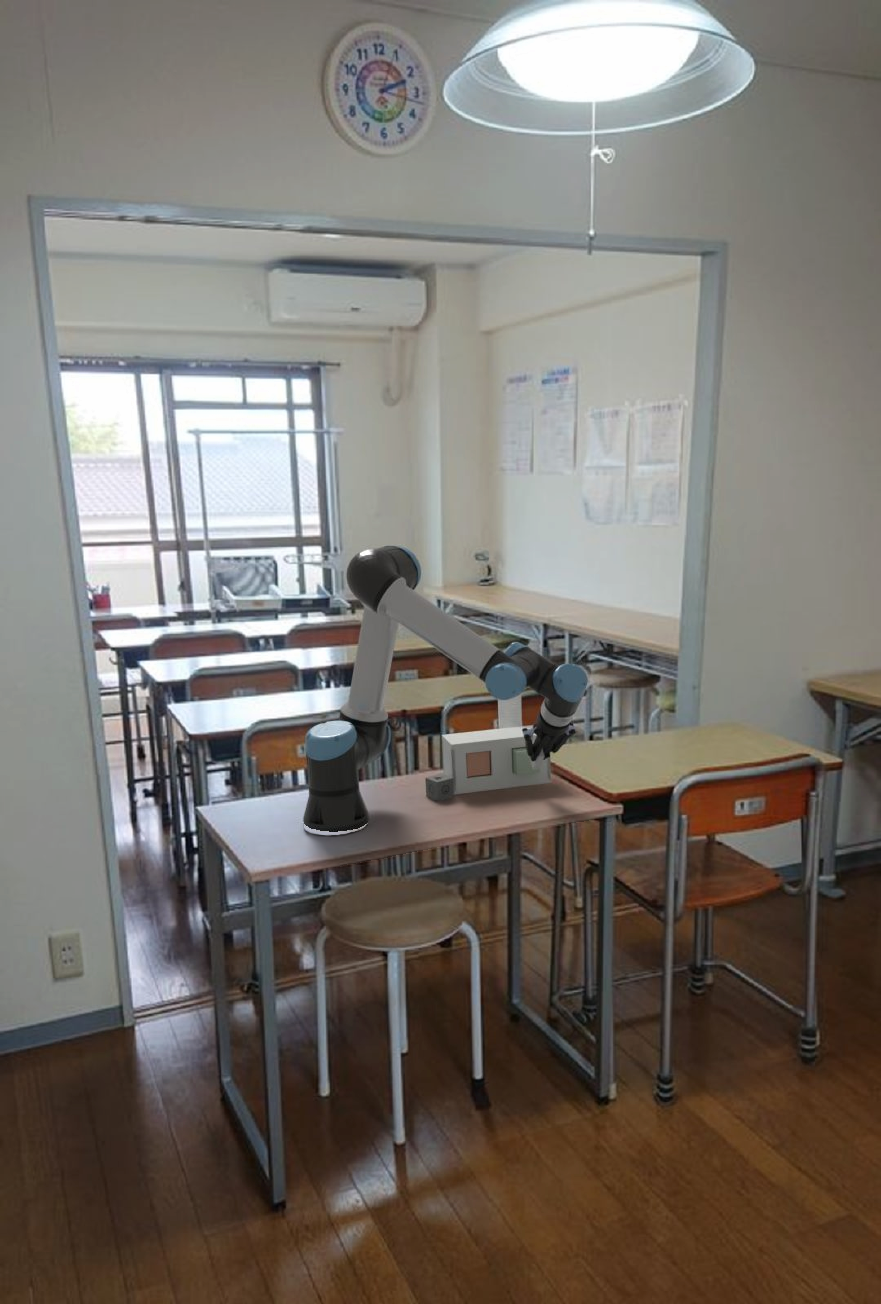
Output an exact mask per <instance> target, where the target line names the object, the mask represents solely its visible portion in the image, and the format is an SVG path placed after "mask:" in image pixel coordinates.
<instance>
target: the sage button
mask: <svg viewBox="0 0 881 1304" xmlns="http://www.w3.org/2000/svg"><path fill="white" fill-rule="evenodd" d="M512 771H513V772H514V773H515V774H516V775H525V774H533V773H540V768H539V769H537V770H533V767H532V764H531V757H530V756H528V753H527V750H526V747H519V748H512Z"/></svg>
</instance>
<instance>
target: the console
mask: <svg viewBox="0 0 881 1304" xmlns="http://www.w3.org/2000/svg"><path fill="white" fill-rule="evenodd" d="M533 725H534V724H532V725H522V726H520V727H511V728H502V729H499V728H495V729H494V728H493V729H492V728H491V729H486V730H476V731H467V732H457V733H448V734H447V733H446V734H441V743H442V744H441V746H442V747H441V748H442V763H443V764H442V766H443V767H442V768H443V774H444V775H447V776H450V777H452V778H453V784H454V795H461V794H470V793H478V792H485V791H491V790H492V791H494V790H501V789H509V788H516V787H517V788H518V787H519V788H520V787H526V786H534V785H535V786H536V785H540V784H541V785H542V784H550V783H552V774H551V773H552V772H551V756H550V757H549V758H546V759H545V760H543V761H542V763H541V766H540V773H533V774H525V775H516V774H515V773H514V772H513V771H512V748H519V747H526V744H525V739H524V735H523V732H522V729H523V728H527V729H528V730H529V729H532V728H533ZM536 736H537V735H536V734H535V733H534V734H533V736H532V737H533V739H532V744H534V741H535V739H536ZM483 751H489V753H490V774H486V775H478V776H469V777H467V764H466V753H475V752H483Z"/></svg>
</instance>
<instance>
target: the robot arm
mask: <svg viewBox="0 0 881 1304" xmlns="http://www.w3.org/2000/svg"><path fill="white" fill-rule="evenodd" d="M345 577H346V582H347V585H348V589H349V591H350V592H351V593H352V594H353V596H354V597H355V598H356V599H357V600H358V601H359V602H360V603H361V604H362V605H363V613H362V618H361V624H360V630H359V635H358V642H357V643H358V644H357V649H356V655H355V660H354V666H353V670H352V671H353V673H352V677H351V682H350V683H351V684H350V689H349V695H348V701H347V702H346V703H344V704H342V706H341V707H340V711H339V717H338V720H331V721H330V720H328V721H325V722H324V723H322V722H321V723H318V724H316V725H314V726H313V727H311V728H310V729H309V730H308V731H307V732H306V734H305V738H304V739H305V741H304V742H305V745H304V752H305V758H306V759H305V761H306V772H307V773H306V774H307V784H308V797H307V801H306V806H305V809H304V812H303V813H304V814H303V818H302V822H304V823H303V825H304V824H305V825H306V826H308V827H309V828H311V829H316V830H320V831H329V832H338V831H347V830H353V829H358V828H360V827H362V826H364V825H365V824H367V823H368V821H369V822H370V817H369V816H370V815H369V811H368V808H367V806H366V804H365V803H366V802H365V801H364V799H363V798H364V797H363V795H362V794H361V791H360V790H361V789H360V780H359V779H360V778H359V777H360V775H359V770H361V769H362V768H365V766H367V765H368V764H371V763H373V762H375V761H376V760H377V759H379V758H381V756H382V755H383V754H384V753H385V752H386V751H387V749H388V748H389V745H390V743H391V737H392V731H391V727H390V725H389V724H388V717H389V714H388V712H387V711H386V710H385V708H384V705H385V699H386V695H387V690H388V684H389V677H390V674H391V666H392V663H393V662H392V661H393V657H394V649H395V645H396V640H397V633H398V627H399V624H400V625H402V626H403V627H404V628H406V629H407V630H409V631H410V632H412V633H413V634H414V635H416V636H417V637H419V638H420V639H422V640H423V641H424V642H426V643H428V645H431V647H432V648H435V649H436V650H438V651H439V652H440V653H442V654H443V655H444V656H446V657H447V658H449V659H450V660H451V661H452V662H453V661H454V662H455V663H456V664H458V665H459V666H460V667H462V668H463V669H465V670H466V671H468V672H469V673H471V674H472V675H474V676H475V677H476V678H478V679H479V680H481V681H482V682H483V683H484V684H485V687H486V689H487V691H488V693H489V695H490V696H492V697H493V698H495V699H497V700H498V699H499V700H509V699H511V698H514V697H516V696H518V695H520V694H521V695H522V693H523V692H524V691H525V690H527V689H528V688H529V689H531V691H534V692H535V693H537V694H538V695H541V696H542V697H544V700H543V702H542V704H541V705H540V706H541V707H540V710H539V711H538V714H537V717H536V722H535V723H534V724H532V725H533V728H532V729H529V730H528V729H527V728H523V729H522V732H523V735H524V739H525V744H526V750H527V753H528V756H530V757H531V764H532V767H533V770H537V769H539V768H540V766H541V763H542V761H543V760H545V759H546V758H549V757H550V758H551V753H553V754H556V753H557V752H559V750H560V749H561V748H562V747H563V746H564V744H565V743H566V742H567V741H568V740H569V739H570V738H571V737H572V736H574V735H575V734H576V733H577V731H576V729H575V725H574V723H573V722H572V721H573V718H574V716H575V714H576V712H577V709H578V707H579V705H580V704H581V702H582V699H583V698H584V696H585V693H586V688H587V686H588V684H589V682H588V681H589V679H588V675H587V673H586V671H585V670H584V669H583V668H582V667H581V666H579V665H578V664H573V663H569V662H567V663H566V662H565V663H563V664H560V665H558V664H556V663H554V662H553V661H551V660H549V659H548V658H546V657H545V656H543V655H541V654H540V653H538V652H537V651H536V650H535V651H534V650H533V649H532V648H531V647H530V646H527V645H525V644H522V643H521V642H519V641H513V642H512V643H510V644H509V646H508V647H507V648H506V649H505V651H504V652H503V651H502V650H501V649H499V648H498V647H496V646H495V645H493V644H492V643H491V642H489V641H488V640H487V639H485V638H483V637H482V636H481V635H479V634H478V633H476V632H475V631H473V629H470V628H469V627H468V626H466V625H465V624H463V623H462V622H460V621H459V620H458V619H456V618H455V617H453V616H452V615H450V613H449V614H448V612H446V611H444V610H443V609H441V608H440V607H438V606H437V605H436V604H434V603H433V602H432V601H430V600H428V599H427V598H425V597H424V596H422V595H421V594H419V593H418V592H416V591H415V589H416V588H417V587H418V586H419V584H420V581H421V577H422V567H421V564H420V561H419V559H418V558H417V556H416V555H415V554H414V553H413V552H412V551H411V550H410V549H408V548H407V547H404V546H400V545H391V544H390V545H385V546H381V547H376V548H367V549H363V550H361V551H360V552H358V553H357V554H355V555H354V556H353V557H352V558H351V559H350V561H349V562H348V565H347V567H346V576H345ZM534 733H535V734H536V735H537V736H536V739H535V741H534V744H532V739H533V737H532V736H533V734H534Z"/></svg>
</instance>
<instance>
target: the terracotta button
mask: <svg viewBox="0 0 881 1304" xmlns="http://www.w3.org/2000/svg"><path fill="white" fill-rule="evenodd" d="M466 764H467V777H469V776H478V775H486V774H490V753H489V751H483V752H475V753H466Z"/></svg>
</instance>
